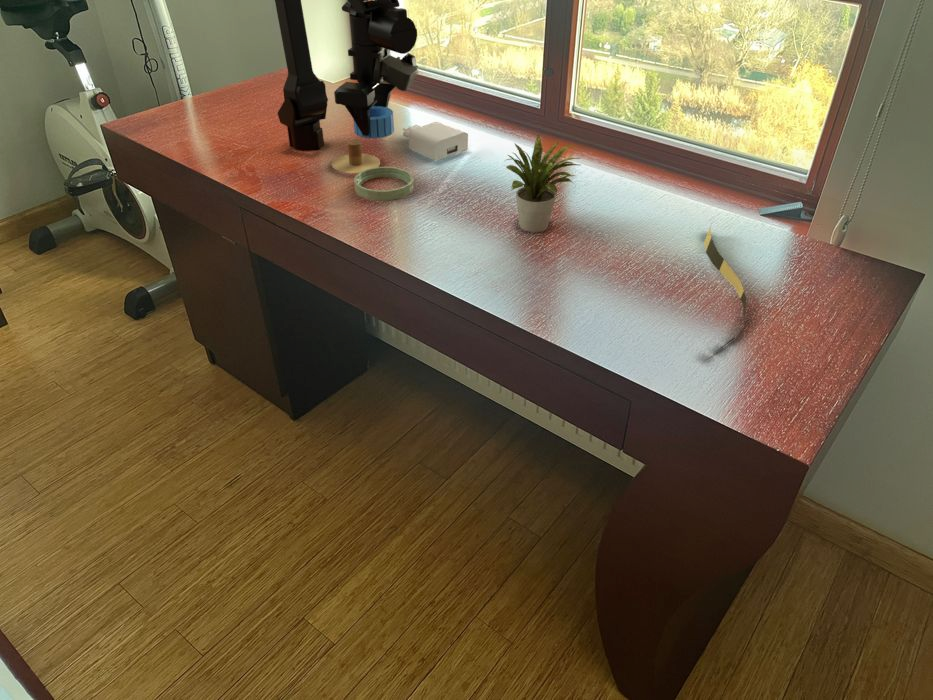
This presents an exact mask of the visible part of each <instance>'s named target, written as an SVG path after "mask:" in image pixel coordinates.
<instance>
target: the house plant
mask: <svg viewBox="0 0 933 700" xmlns="http://www.w3.org/2000/svg"><path fill="white" fill-rule="evenodd" d="M559 142H560V140H557V141H556V142H555V143H554V144H553V145H552V146H551V147H550V148H549V150H547V151H546V153H545V154H544V156H543V144H542V137H541V135H540V134H538V135H537V136H536V139H535V142H534V146H533V151H532V155H531V157H530V155H529V154H528V153H527V152H526V151H525V150H523V148H522V147H521V146H520V145H517V144H516V143H514V145H515V148H516V150H517V151H518V154H519V156H520V157H519V156H518V155H517V154H516V153H514V152H512V154H513V155H515V157H516V158H517V159H516V158H514V157H513V156H512V155H510V154H507V156H508V157H509V158H507V159H504V160H503V161H504V162H505V161H513V162H514V163H515V164H516V165H513V164H509V165H506V166H505V168H506V169H507V170H510V171H511V172H513V173H515V174H516V175H517V176H519V178H520V179H521V180H522V181H521V180H516V179H515V180H512V183H511V190H510V192H512V191H513V190H516V189H517V190H516V192H515V198H516V199H515V200H516V206H517V217H518V224H519V227H520V228H521V229H522V230H523V231H526V232H529V233H540V232H544V231H545V230H547V229H548V228H549V224H550V221H551V217H552V213H553V209H554V205H555V202H556V197H557V194H558V193H557V192H558V187H557V185H556V184H559V183H568V182H569V183H572V184H575V183H574V182H573V181H572V180H571V179H570V178H568V177H571V178H573V177H576V175H574V174H571V173H569V172H566V171H558V170H559V169H562V168H566V167H570V166H571V167H572V166H580V164H579V163H573V161H570V160H579V159H581V157H568V158H564V159H561V160H559V159H560V158H561V157H562V155H563V154H564V152H565V151H566V150H567V149H568V148H570V147H571V146H572V144H569V145H565V146H563V147H561V148H560V149H559V150H558V151H556V153H555V154H554V155H553V156H552V154H553V152H554V150H555V149H556V147H557V146H558V144H559ZM551 156H552V157H551ZM550 157H551V158H550ZM558 160H559V161H558ZM517 166H518V167H517ZM555 171H558V172H555ZM554 172H555V173H554ZM558 176H561V177H558ZM556 177H558V178H556ZM554 178H555V179H554Z"/></svg>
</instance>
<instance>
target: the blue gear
mask: <svg viewBox="0 0 933 700" xmlns="http://www.w3.org/2000/svg"><path fill="white" fill-rule="evenodd" d="M353 129H354V134H355V135H356V136H358V137H360V138H363V139H373V140H375V139H376V140H377V139H384V138H386V137H387V138H388V137H389V136H391V135H393V133H394V132H395V124H394V111H393V110H392V109H391V108H389V107H388V108H387V107H382V106H373V107H372V108H371V111H370V130H369V135H368V136H364V135H363V134H362V133H361V131H360V129H359V128H358V126H357V124H356V122H355V121H354V120H353Z"/></svg>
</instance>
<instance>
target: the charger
mask: <svg viewBox="0 0 933 700" xmlns="http://www.w3.org/2000/svg"><path fill="white" fill-rule="evenodd" d="M402 131H403V133H402V136H403V137H405V138H408V149H409V150H411V151H412V152H415V153H417V154H420V155H421V156H423V157H427V158H429V159H431V160H433V161H435V162H436V161H440V160H442V159H445V158H448V157H451V156H454V155H456V154H459V153H461V152H464V151H468V149H469V133H467V132H465V131H463V130H460V129H458V128H455V127H452V126H450V125H448V124H445V123H443V122H440V121H433V122H431V123H428V124H424V125H418V124H415V125H412V126H410V125H409V126H408V127H407V128H406V127H405V128H404V127H403V128H402Z"/></svg>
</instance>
